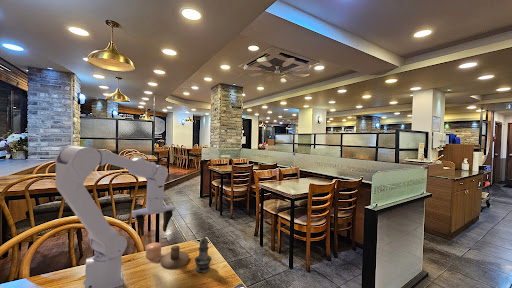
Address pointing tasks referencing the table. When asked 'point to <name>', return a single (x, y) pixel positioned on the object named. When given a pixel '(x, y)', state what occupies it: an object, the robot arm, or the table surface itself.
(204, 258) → the dark grey chess piece
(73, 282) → the table surface
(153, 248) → the cap
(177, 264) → the post stand
